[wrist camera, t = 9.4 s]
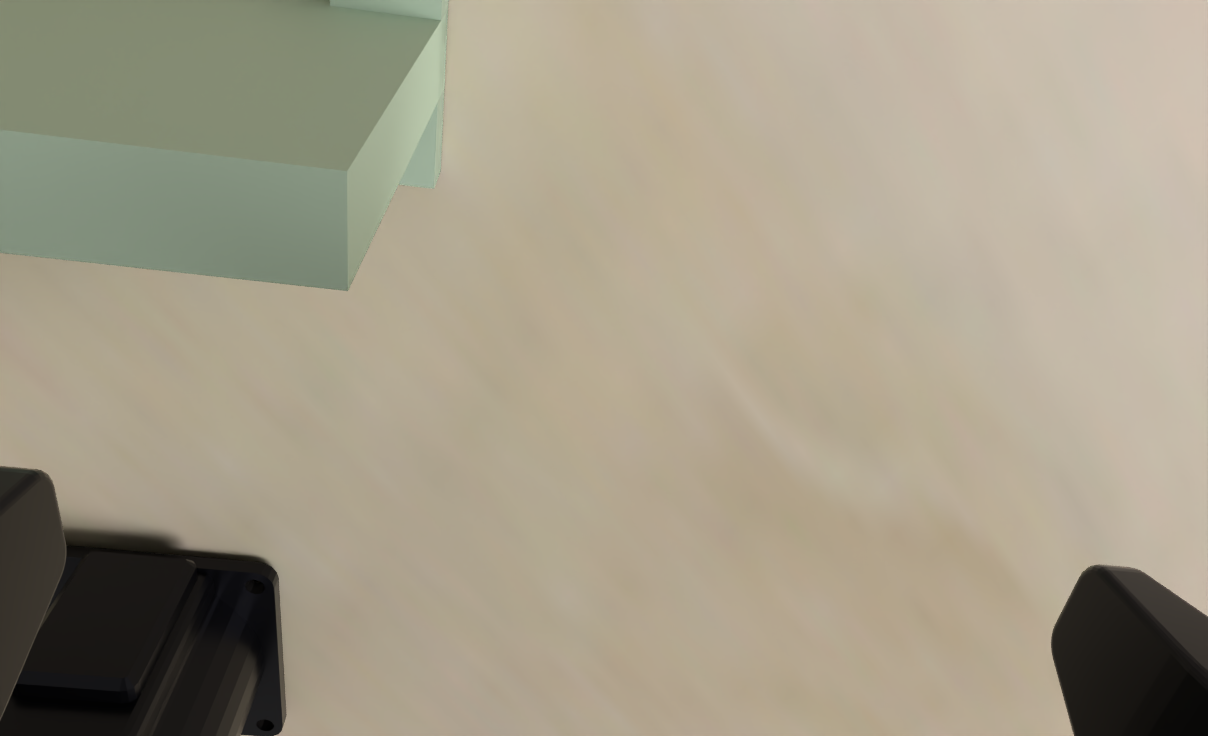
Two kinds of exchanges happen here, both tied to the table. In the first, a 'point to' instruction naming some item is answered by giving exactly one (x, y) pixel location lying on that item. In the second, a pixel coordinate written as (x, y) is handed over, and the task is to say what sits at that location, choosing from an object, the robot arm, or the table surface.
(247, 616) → the robot arm
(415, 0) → the screen
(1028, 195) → the table surface
